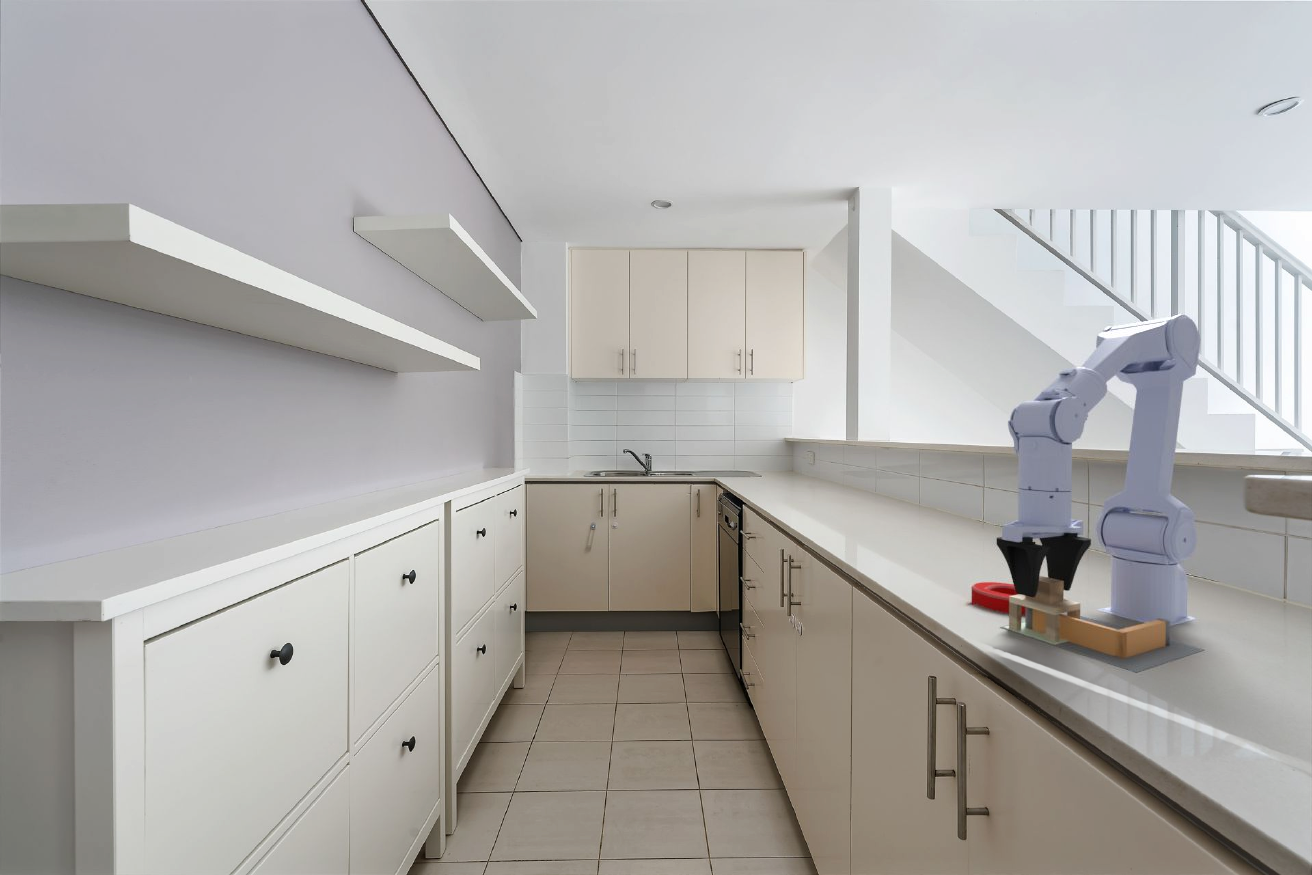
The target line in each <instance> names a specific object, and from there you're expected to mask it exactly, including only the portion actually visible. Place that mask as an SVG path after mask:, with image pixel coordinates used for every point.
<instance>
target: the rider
mask: <svg viewBox="0 0 1312 875" xmlns="http://www.w3.org/2000/svg"><path fill="white" fill-rule="evenodd" d="M1064 591H1065V590H1064V581H1061V580H1057V579H1052V578H1048V576H1047V577H1046V576H1044V575H1043V576H1042V575H1039V584H1038V590H1037V593H1036V596H1035V597H1029V596H1025V595H1021V594H1019V595H1013V596H1009V613H1008V614H1009V615H1008V625H1009V628H1011V629H1014V630H1021V622H1022V615H1021V608H1022V606H1025V607H1028V608H1032V609H1036V610H1039V611H1043V612H1046V640H1048V641H1051V642H1054V643H1056V642H1059V627H1060V614H1063V613H1067V616H1070V617H1074V618H1077V619H1080V616H1081V603H1080V602H1076V601H1073V600H1069V599H1065V598H1064Z"/></svg>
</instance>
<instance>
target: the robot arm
mask: <svg viewBox="0 0 1312 875" xmlns="http://www.w3.org/2000/svg"><path fill="white" fill-rule="evenodd" d="M1197 327H1198V326H1197V325H1196V323H1195V322H1194V320H1193V319H1192V318H1190V317H1189V316H1188V315H1187V314H1177V315H1173V316H1171V317H1165V318H1159V319H1154V320H1147V321H1140V322H1135V323H1128V324H1124V325H1118V326H1117V325H1111V326H1107V327H1105V328H1104V329H1103V330H1102V331H1101V333H1099V334H1097V336H1096V342H1095V343H1096V349H1095V350H1094V351H1093V352H1092V353H1091V355H1090V356H1089V357H1087V359H1086V361H1084V363H1083V364H1082V366H1080V367H1072V368H1063V369H1062V370H1061V371H1060V372H1059V373H1058V377H1057V378H1056V379H1054V381H1053V382H1052V383H1051V384H1049V385H1048V386H1047V387H1046V388H1045V389H1043V390H1042V391H1041V392H1040V394H1038V396H1037V397H1035V399H1034V400H1026V401H1023V402H1021V403H1019V405H1018V406H1016V407H1015V408H1013V410H1012V412H1011V414H1010V418H1009V420H1008V421H1007V426H1008V430H1009V434H1010V437H1011V438H1012V439H1013V450H1014V452H1015V454H1016V455H1018V483H1017V484H1018V486H1017V487H1018V490H1017V491H1018V492H1017V493H1018V494H1017V495H1018V496H1017V498H1018V499H1017V506H1018V507H1017V519H1016V520H1014V521H1012V522H1010V523H1005V524H1002V526H1001V536H999V537H996V546H997V548H999V550H1000V552H1001V554H1002V556H1003V557H1004V559H1005V562H1006V563H1007V566H1008V569H1009V573H1010V575H1011V579H1012V584H1013V585H1014V587H1015V591H1016V593H1017V594H1021V595H1025V596H1029V597H1035V596H1036V593H1037V590H1038V584H1039V576H1041V574H1040V573H1041V569H1042V565H1043V562H1044V560H1046V568H1047V577H1048V578H1052V579H1057V580H1061V581H1064V591H1067V592H1068V591H1070V590H1071V588H1072V585H1073V582H1074V578H1075V575H1076V572H1077V570H1078V566H1079V565H1080V562H1081V560H1082V559H1083V556H1084V555H1085V553H1086V551H1087V550H1088V549H1089V548H1090V546H1091V545H1092V539H1091V538H1089V537H1083V535H1084V521H1083V520H1079V519H1072V491H1073V490H1072V485H1073V484H1072V482H1073V481H1072V476H1073V475H1072V474H1073V472H1072V471H1073V470H1072V469H1073V442H1076V441H1077V440H1079V439H1081V437H1082V435H1083V432H1084V429H1085V424H1086V421H1087V420H1088V417H1089V413H1090V411H1092V410H1093V409H1094V408H1095V407H1096V406H1097V405H1098V404H1099V403H1100V402H1101V401H1102V400H1103V399H1104V397H1105V396H1107V395H1106V394H1107V392H1108V385H1107V382H1109V381H1110V380H1111V379H1112V378H1114V377H1116V378H1118V380H1120V382H1122V383H1126V384H1129V385H1133V387H1134V388H1135V390H1136V394H1135V401H1134V409H1133V410H1134V411H1133V417H1132V424H1131V425H1132V426H1131V433H1130V441H1129V449H1128V458H1127V465H1126V471H1125V472H1126V473H1125V482H1124V487H1123V488H1124V489H1123V490H1122V491H1120V492H1117V493H1116V494H1114V495H1112V496H1110V497H1109V498H1106V499H1105V500H1104V501H1103V506H1102V510H1101V512H1100V515H1099V517H1098V519H1097V520H1096V523H1095V524H1096V525H1095V535H1096V536H1095V537H1096V538H1097V541H1098V543H1099V544H1100V546H1101V547H1102V548H1103V549H1105V554H1106V555H1111V557H1110V558H1111V559H1110V562H1111V563H1110V568H1111V569H1110V572H1111V573H1110V606H1109V607H1104V608H1103V607H1102V608H1099V609H1097V611H1098V612H1102V613H1105V614H1109V615H1114V616H1117V617H1121V618H1126V619H1129V620H1132V621H1137V622H1140V623H1147V622H1151V621H1155V620H1157V619H1165V620H1169V621H1170V627H1172V626H1176V625H1179V624H1182V623H1183V624H1184V623H1186V622H1189V621H1194V620H1196V618H1195V617H1193V616H1188V575H1187V573H1186V571H1185V569H1184V568H1183V567H1182V565H1180V564H1182V563H1184V562H1185V561H1187V560H1188V559H1189V558H1191V557H1192V555H1193V554H1194V552H1195V550H1196V547H1197V532H1196V529H1195V512H1194V511H1192V509H1191V508H1190V507H1188V505H1186V504H1184V503H1183V502H1181V500H1179V499H1178V498H1176V497H1174V496H1173V495H1172V494H1171V489H1172V483H1173V482H1172V481H1173V475H1174V474H1173V472H1174V464H1175V456H1176V455H1175V454H1176V448H1177V440H1178V439H1177V438H1178V430H1179V423H1180V422H1179V421H1180V415H1181V406H1182V397H1183V390H1184V383H1185V381H1187V380H1188V379H1190V378H1192V377H1193V376H1195V375H1196V373H1197V366H1198V364H1199V363H1198V362H1199V356H1200V346H1201V335H1200V334H1201V333H1199V331H1198V328H1197ZM1139 512H1145V513H1139ZM1146 513H1147V514H1146ZM1148 513H1153V514H1148ZM1154 514H1155V515H1154ZM1156 514H1163V515H1156ZM1165 515H1166V516H1165ZM1034 539H1039V541H1040V543H1041V544H1037V543H1036V541H1034Z"/></svg>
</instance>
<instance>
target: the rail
mask: <svg viewBox="0 0 1312 875" xmlns="http://www.w3.org/2000/svg"><path fill="white" fill-rule="evenodd" d="M1024 616H1025V619H1024V620H1025V621H1024V622H1025V627H1026V628H1028V629H1033V630H1036V631H1039V632H1042V633H1046V612H1043V611H1039V610H1036V609H1032V608H1028V607H1026V609H1025V615H1024ZM1123 628H1124V629H1120V630H1117V629H1114V628H1110V627H1106V626H1103V625H1099V624H1095V623H1092V622H1088V621H1085V620H1081V619H1077V618H1074V617H1070V616H1067V615H1063V613H1062V614H1060V627H1059V638H1061V639H1065V640H1068V641H1069V642H1072V643H1075V644H1078V645H1081V646H1084V647H1088V648H1091V649H1094V650H1097V651H1100V652H1103V653H1107V654H1110V655H1113V656H1116V657H1119V658H1122V659H1123V658H1127V657H1130V656H1133V655H1136V654H1140V653H1143V652H1146V651H1150V650H1153V649H1156V648H1159V647H1163V646H1170V640H1171V626H1170V621H1169V620H1165V619H1157V620H1155V621H1151V622H1147V623H1144V622H1142V623H1140V624H1136V625H1132V626H1127V627H1123Z"/></svg>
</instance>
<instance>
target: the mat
mask: <svg viewBox="0 0 1312 875" xmlns="http://www.w3.org/2000/svg"><path fill="white" fill-rule="evenodd" d="M1062 614H1063V615H1067V612H1066V613H1062ZM1080 619H1081V620H1085V621H1088V622H1092V623H1095V624H1099V625H1103V626H1106V627H1110V628H1114V629H1117V630H1120V629H1124V628H1125V627H1122V626H1120V625H1115V624H1112V623H1108V622H1104V621H1101V620H1096V619H1093V618H1091V617H1090V618H1089V617H1086V616H1082V615H1080ZM1023 622H1024V621H1021V623H1023ZM1005 626H1009V624H1008V625H1004V626H999V629H1002V630H1005V631H1008V632H1012V633H1015V634H1018V635H1021V636H1024V637H1027V638H1030V639H1033V640H1035V641H1039V642H1041V643H1046V644H1049V645H1050V646H1054V647H1057V648H1061V649H1063V650H1067V651H1070V652H1072V653H1075V654H1079V655H1081V656H1085V657H1088V658H1090V659H1094V660H1097V661H1100V662H1102V663H1106V664H1108V665H1109V664H1110V665H1113V666H1115V667H1118V668H1122V669H1125V670H1127V671H1130V672H1133V673H1141V672H1143V671H1145V670H1149V669H1151V668H1155V667H1158V666H1162V665H1165V664H1167V663H1172V662H1173V661H1176V660H1180V659H1183V658H1186V657H1188V656H1191V655H1194V654H1198V653H1200V652H1203V651H1205V648H1204V649H1203V648H1199V647H1196V646H1193V645H1190V644H1185V643H1182V642H1178V641H1174V640H1171V639H1170V646H1163V647H1159V648H1156V649H1153V650H1150V651H1146V652H1143V653H1140V654H1136V655H1133V656H1130V657H1127V658H1123V659H1122V658H1119V657H1116V656H1113V655H1110V654H1107V653H1103V652H1100V651H1097V650H1094V649H1091V648H1088V647H1084V646H1081V645H1078V644H1075V643H1072V642H1069V641H1068V642H1064V643H1060V644H1056V645H1054V644H1051V643H1048V642H1045V641H1042V640H1039V639H1036V638H1033V637H1030V636H1027V635H1024V634H1021V633H1018V632H1015V631H1012V630H1009V629H1006V628H1003V627H1005Z"/></svg>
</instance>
